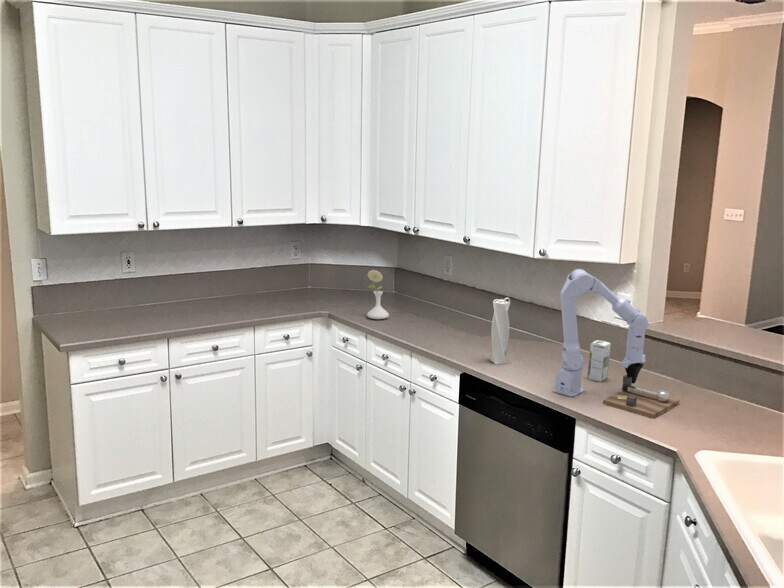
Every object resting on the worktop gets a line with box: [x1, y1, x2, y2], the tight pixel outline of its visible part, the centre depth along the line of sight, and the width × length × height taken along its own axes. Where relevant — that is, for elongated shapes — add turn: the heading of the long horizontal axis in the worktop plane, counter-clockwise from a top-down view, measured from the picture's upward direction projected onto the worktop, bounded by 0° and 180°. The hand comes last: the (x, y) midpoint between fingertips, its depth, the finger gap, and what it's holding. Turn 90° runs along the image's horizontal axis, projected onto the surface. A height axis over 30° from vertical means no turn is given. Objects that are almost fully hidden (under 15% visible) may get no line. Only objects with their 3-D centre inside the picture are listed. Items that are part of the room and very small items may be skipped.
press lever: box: [621, 374, 670, 402], centre depth 234 cm, size 4×16×5 cm, turn 45°
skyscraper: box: [489, 297, 512, 365], centre depth 273 cm, size 8×8×28 cm
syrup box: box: [586, 339, 612, 383], centre depth 255 cm, size 6×6×14 cm
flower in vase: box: [366, 269, 390, 320], centre depth 344 cm, size 13×11×25 cm
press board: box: [602, 389, 680, 419], centre depth 231 cm, size 20×18×4 cm
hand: (631, 382), depth 241 cm, fingers closed
